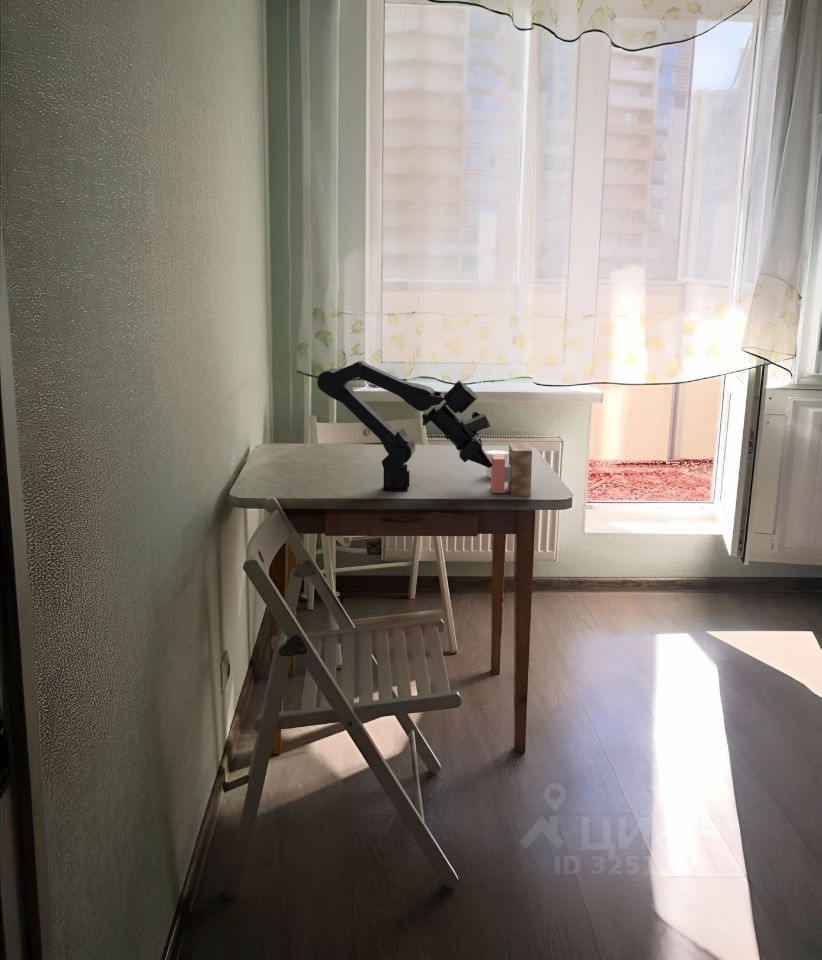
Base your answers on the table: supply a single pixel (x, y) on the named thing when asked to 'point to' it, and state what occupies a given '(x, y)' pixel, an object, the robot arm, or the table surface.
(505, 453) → the shot glass
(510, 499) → the table surface
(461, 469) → the table surface
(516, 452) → the block
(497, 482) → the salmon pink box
